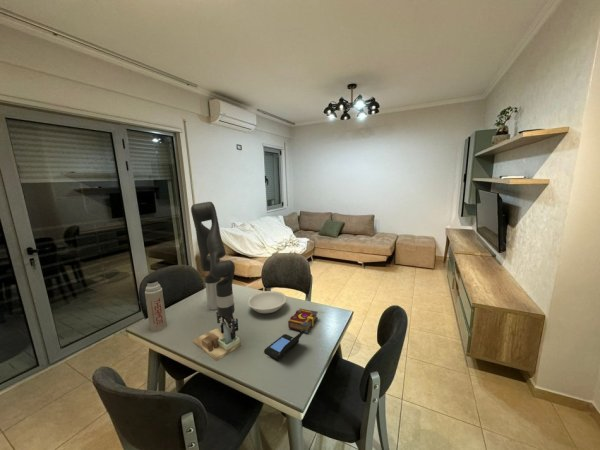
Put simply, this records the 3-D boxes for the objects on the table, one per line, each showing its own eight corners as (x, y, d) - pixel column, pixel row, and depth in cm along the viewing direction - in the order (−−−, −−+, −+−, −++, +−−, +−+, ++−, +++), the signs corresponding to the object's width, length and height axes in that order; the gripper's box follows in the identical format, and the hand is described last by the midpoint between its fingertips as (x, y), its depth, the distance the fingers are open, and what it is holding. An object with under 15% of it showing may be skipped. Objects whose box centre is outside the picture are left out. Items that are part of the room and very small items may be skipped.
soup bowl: (270, 324, 133) (270, 313, 132) (239, 313, 146) (238, 303, 145) (294, 305, 153) (294, 295, 152) (265, 297, 166) (264, 288, 165)
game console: (284, 335, 123) (284, 319, 122) (306, 345, 115) (306, 328, 113) (262, 353, 111) (261, 334, 110) (285, 365, 103) (284, 346, 101)
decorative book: (287, 328, 129) (287, 320, 128) (300, 314, 144) (300, 306, 143) (307, 333, 124) (307, 324, 124) (318, 317, 139) (318, 309, 138)
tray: (231, 337, 121) (230, 332, 120) (239, 343, 116) (239, 338, 116) (218, 344, 115) (217, 340, 115) (226, 351, 111) (226, 346, 110)
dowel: (229, 339, 118) (227, 320, 116) (234, 342, 116) (232, 323, 114) (223, 343, 115) (221, 324, 114) (228, 346, 113) (226, 326, 112)
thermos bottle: (166, 330, 131) (160, 280, 126) (149, 334, 127) (142, 284, 122) (167, 323, 138) (161, 276, 133) (150, 327, 134) (144, 279, 129)
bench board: (216, 329, 130) (215, 321, 129) (240, 345, 116) (240, 336, 115) (192, 342, 120) (191, 333, 119) (216, 360, 106) (215, 351, 106)
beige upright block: (213, 338, 120) (212, 333, 119) (219, 342, 117) (218, 337, 116) (202, 345, 115) (201, 339, 115) (207, 349, 112) (207, 343, 112)
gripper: (241, 304, 111) (244, 337, 113) (223, 296, 120) (226, 326, 122) (227, 311, 105) (230, 345, 108) (209, 301, 114) (212, 333, 117)
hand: (228, 335), depth 115 cm, fingers open, 7 cm apart
